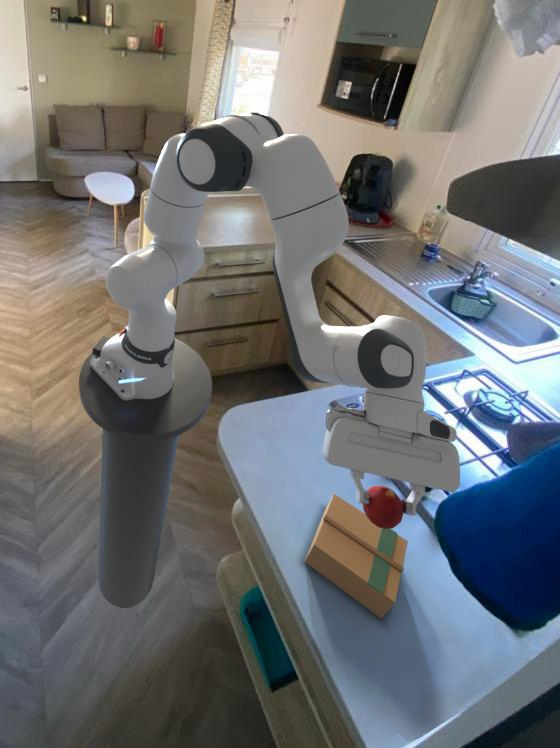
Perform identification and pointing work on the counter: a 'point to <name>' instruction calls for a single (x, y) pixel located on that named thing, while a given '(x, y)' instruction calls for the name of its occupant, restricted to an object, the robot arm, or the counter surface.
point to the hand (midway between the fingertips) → (385, 508)
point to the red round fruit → (383, 507)
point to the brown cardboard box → (358, 556)
